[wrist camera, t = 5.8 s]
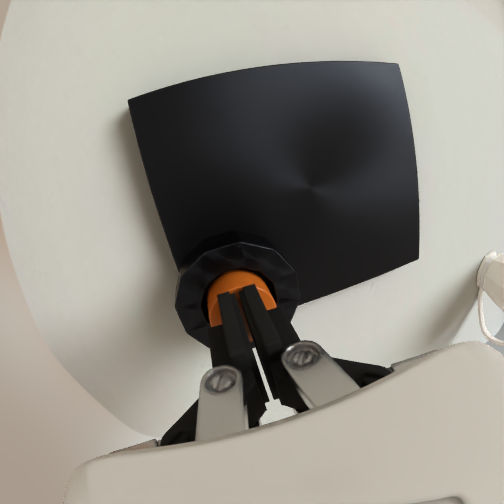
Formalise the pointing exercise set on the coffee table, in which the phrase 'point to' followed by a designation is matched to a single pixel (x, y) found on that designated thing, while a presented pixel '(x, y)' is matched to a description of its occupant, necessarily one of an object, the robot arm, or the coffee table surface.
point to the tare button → (236, 294)
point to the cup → (491, 287)
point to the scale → (282, 179)
